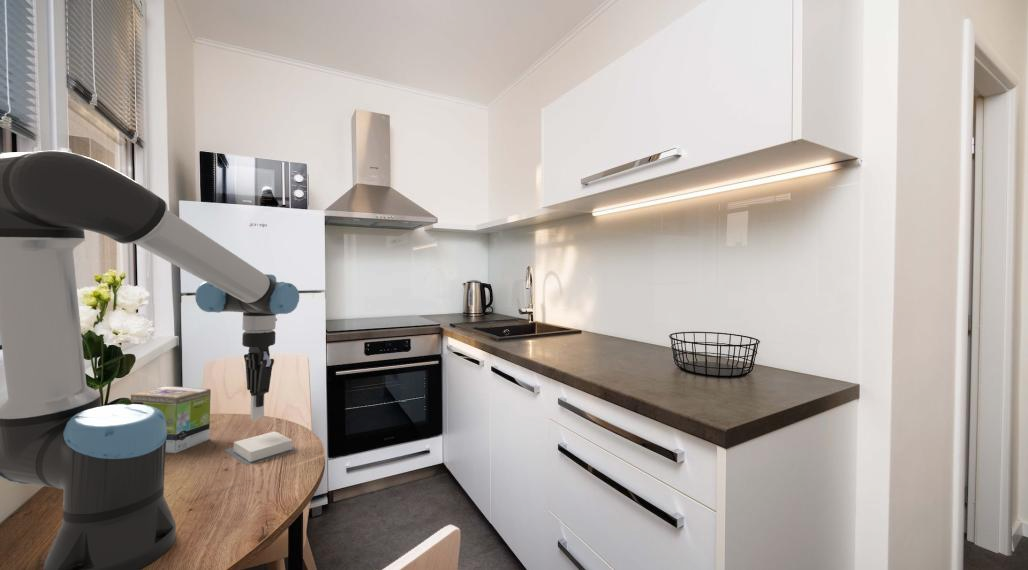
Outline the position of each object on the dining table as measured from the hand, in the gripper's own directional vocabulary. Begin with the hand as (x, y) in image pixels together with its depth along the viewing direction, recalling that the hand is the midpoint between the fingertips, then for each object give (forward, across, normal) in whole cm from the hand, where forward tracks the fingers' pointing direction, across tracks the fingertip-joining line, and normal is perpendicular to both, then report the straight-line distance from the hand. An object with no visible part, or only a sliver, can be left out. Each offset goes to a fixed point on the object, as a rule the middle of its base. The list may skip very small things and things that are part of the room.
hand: (257, 417), depth 107 cm
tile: (+6, 0, 0) cm, 6 cm away
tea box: (+8, +19, +14) cm, 25 cm away
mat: (+8, -4, 0) cm, 9 cm away
